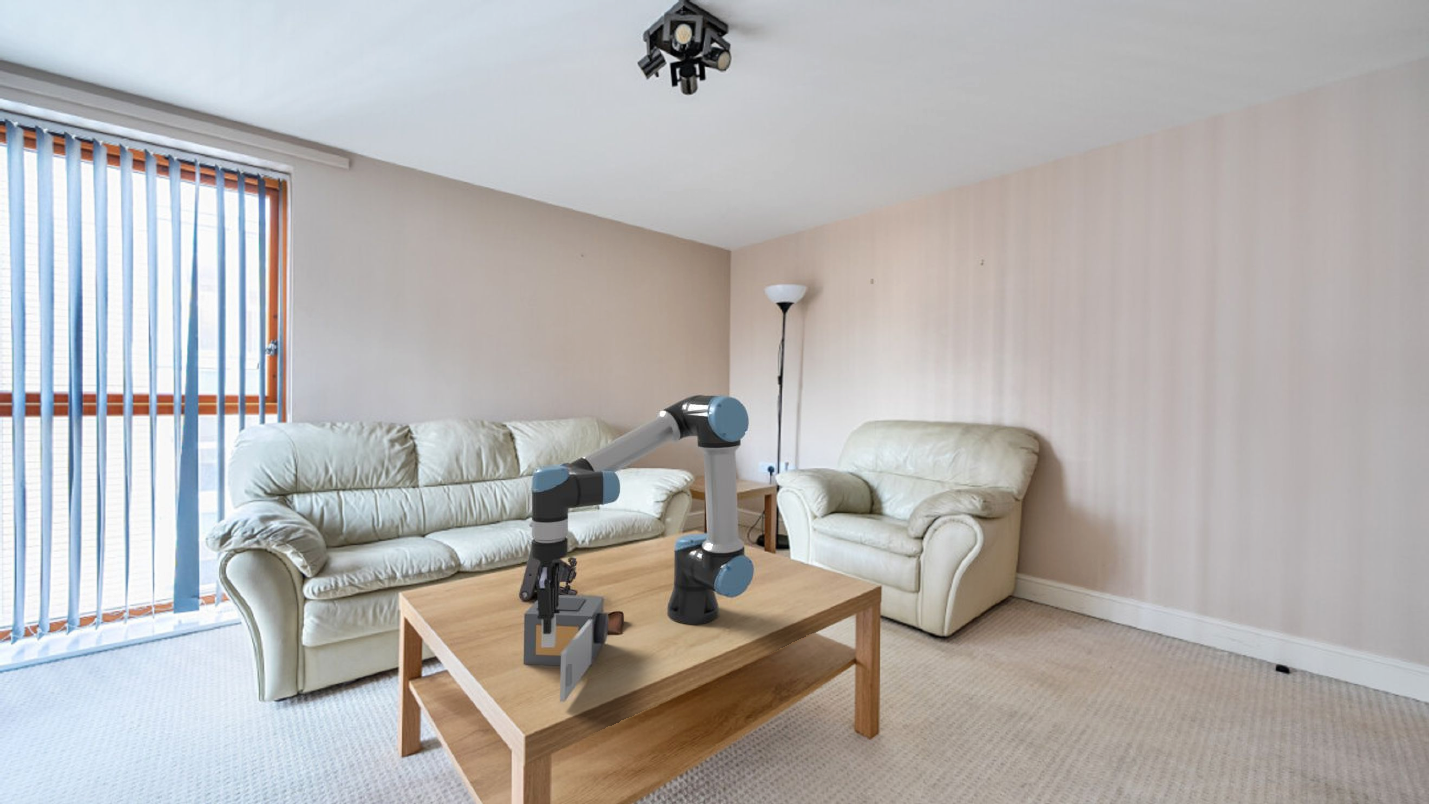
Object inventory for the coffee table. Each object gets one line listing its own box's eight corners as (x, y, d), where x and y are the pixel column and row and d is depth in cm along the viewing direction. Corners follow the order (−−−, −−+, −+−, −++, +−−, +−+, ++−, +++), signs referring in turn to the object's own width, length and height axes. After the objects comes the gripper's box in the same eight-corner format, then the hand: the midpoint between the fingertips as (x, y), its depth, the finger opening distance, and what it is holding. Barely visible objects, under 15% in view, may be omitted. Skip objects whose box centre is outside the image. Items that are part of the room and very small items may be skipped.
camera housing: (610, 642, 137) (611, 593, 137) (598, 667, 125) (599, 613, 125) (541, 640, 138) (542, 591, 137) (523, 664, 125) (524, 610, 125)
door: (588, 660, 125) (588, 618, 125) (595, 661, 125) (596, 619, 125) (559, 701, 108) (560, 653, 108) (568, 702, 108) (569, 653, 108)
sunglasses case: (554, 637, 139) (556, 610, 142) (557, 640, 145) (559, 614, 148) (624, 634, 142) (624, 607, 145) (623, 637, 148) (624, 611, 151)
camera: (566, 614, 162) (584, 551, 162) (513, 598, 162) (532, 536, 162) (576, 600, 173) (593, 542, 173) (527, 585, 173) (544, 527, 173)
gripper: (540, 529, 121) (539, 632, 122) (522, 547, 108) (521, 661, 109) (573, 530, 121) (572, 631, 122) (560, 547, 108) (559, 660, 109)
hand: (548, 645), depth 115 cm, fingers closed
